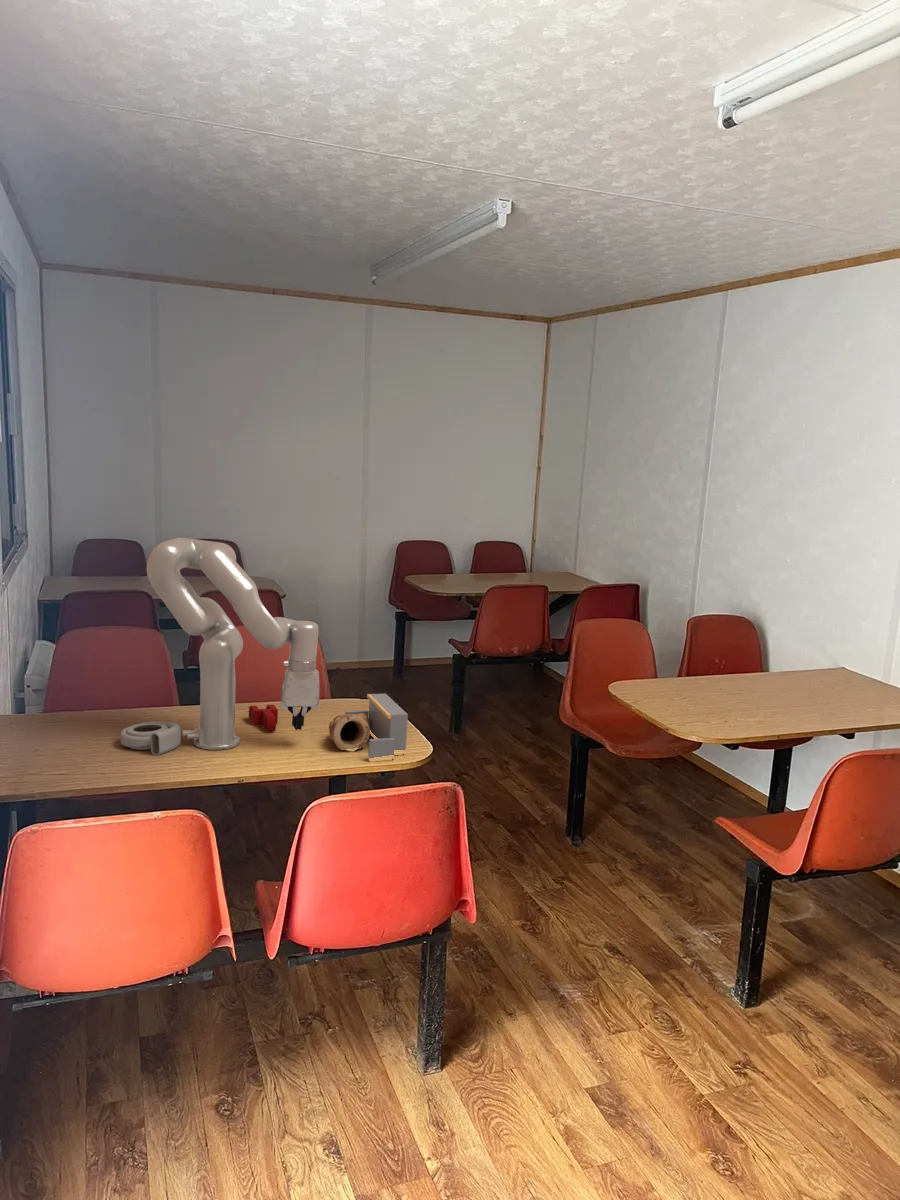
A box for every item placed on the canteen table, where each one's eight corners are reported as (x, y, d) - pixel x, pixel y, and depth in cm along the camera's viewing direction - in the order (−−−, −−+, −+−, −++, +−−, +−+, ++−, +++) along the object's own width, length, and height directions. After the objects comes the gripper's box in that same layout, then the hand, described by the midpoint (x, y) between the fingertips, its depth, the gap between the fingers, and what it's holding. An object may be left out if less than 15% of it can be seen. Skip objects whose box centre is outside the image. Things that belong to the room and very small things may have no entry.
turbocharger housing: (150, 737, 252) (109, 750, 238) (149, 715, 251) (108, 727, 238) (195, 744, 245) (156, 758, 231) (194, 721, 244) (155, 734, 230)
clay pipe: (314, 757, 250) (348, 755, 241) (307, 721, 251) (341, 717, 241) (361, 742, 265) (395, 739, 255) (354, 708, 265) (388, 704, 255)
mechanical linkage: (248, 719, 271) (248, 703, 270) (271, 717, 274) (271, 702, 273) (259, 735, 256) (260, 718, 256) (283, 733, 259) (284, 717, 258)
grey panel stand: (369, 761, 239) (371, 719, 237) (344, 729, 266) (345, 691, 264) (409, 759, 243) (411, 718, 241) (380, 727, 270) (382, 690, 268)
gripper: (277, 668, 237) (273, 733, 239) (331, 668, 242) (326, 732, 245) (273, 661, 243) (268, 724, 246) (325, 662, 249) (320, 723, 252)
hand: (297, 728), depth 245 cm, fingers closed
